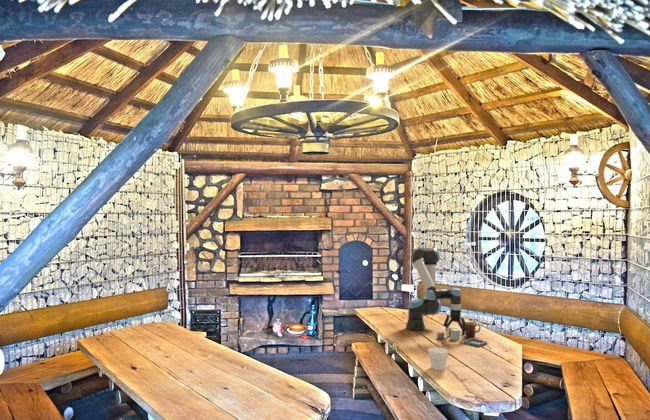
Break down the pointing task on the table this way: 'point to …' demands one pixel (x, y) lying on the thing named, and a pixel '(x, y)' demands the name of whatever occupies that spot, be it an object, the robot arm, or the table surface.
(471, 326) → the mug
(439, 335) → the rubber puck
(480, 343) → the tray
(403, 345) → the table surface
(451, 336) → the sage brick
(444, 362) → the cup
